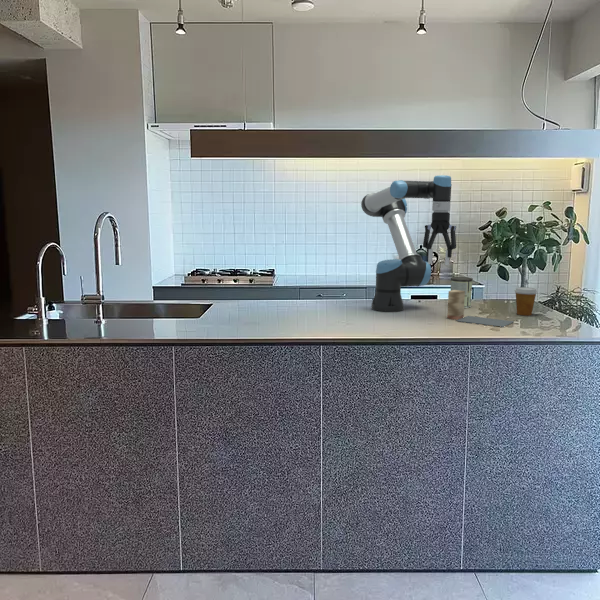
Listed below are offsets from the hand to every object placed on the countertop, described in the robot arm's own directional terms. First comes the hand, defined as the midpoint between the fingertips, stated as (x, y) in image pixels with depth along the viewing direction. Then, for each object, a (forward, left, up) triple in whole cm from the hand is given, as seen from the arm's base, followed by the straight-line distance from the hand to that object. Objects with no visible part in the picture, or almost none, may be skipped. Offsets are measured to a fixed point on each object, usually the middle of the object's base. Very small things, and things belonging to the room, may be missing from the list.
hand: (438, 264), depth 248 cm
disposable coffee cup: (+30, +29, -23) cm, 48 cm away
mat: (+22, 0, -23) cm, 32 cm away
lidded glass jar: (-1, +31, -23) cm, 39 cm away
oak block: (+9, 0, -23) cm, 25 cm away
